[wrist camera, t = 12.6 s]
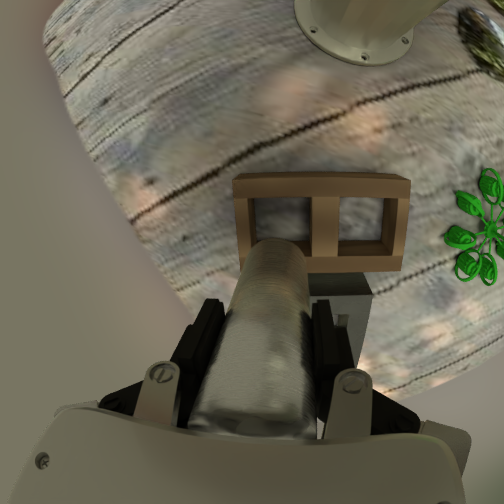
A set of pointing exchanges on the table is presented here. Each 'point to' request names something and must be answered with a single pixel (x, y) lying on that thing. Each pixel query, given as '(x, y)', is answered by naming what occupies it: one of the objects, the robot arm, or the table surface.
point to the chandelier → (463, 236)
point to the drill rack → (329, 217)
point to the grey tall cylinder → (263, 353)
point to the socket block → (345, 302)
